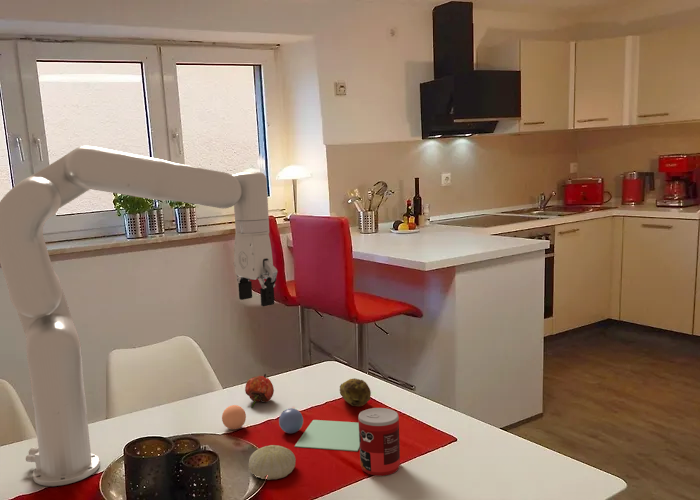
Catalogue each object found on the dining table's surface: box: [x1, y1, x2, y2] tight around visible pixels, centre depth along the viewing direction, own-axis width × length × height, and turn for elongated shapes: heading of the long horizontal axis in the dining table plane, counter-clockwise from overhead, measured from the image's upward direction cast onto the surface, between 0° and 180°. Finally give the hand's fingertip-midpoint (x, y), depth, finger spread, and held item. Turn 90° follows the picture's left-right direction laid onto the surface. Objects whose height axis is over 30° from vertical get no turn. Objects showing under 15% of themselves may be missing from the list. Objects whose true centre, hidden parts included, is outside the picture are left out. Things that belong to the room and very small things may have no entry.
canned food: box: [358, 407, 401, 477], centre depth 126 cm, size 8×8×11 cm
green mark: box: [294, 419, 360, 452], centre depth 142 cm, size 14×14×1 cm
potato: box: [339, 378, 372, 407], centre depth 158 cm, size 8×13×8 cm, turn 175°
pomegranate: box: [244, 373, 275, 409], centre depth 163 cm, size 7×7×10 cm
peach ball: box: [221, 404, 247, 430], centre depth 147 cm, size 6×6×6 cm
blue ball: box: [278, 407, 304, 434], centre depth 144 cm, size 6×6×6 cm
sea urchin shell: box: [248, 444, 297, 481], centre depth 126 cm, size 9×8×8 cm
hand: (256, 301), depth 145 cm, fingers open, 9 cm apart
